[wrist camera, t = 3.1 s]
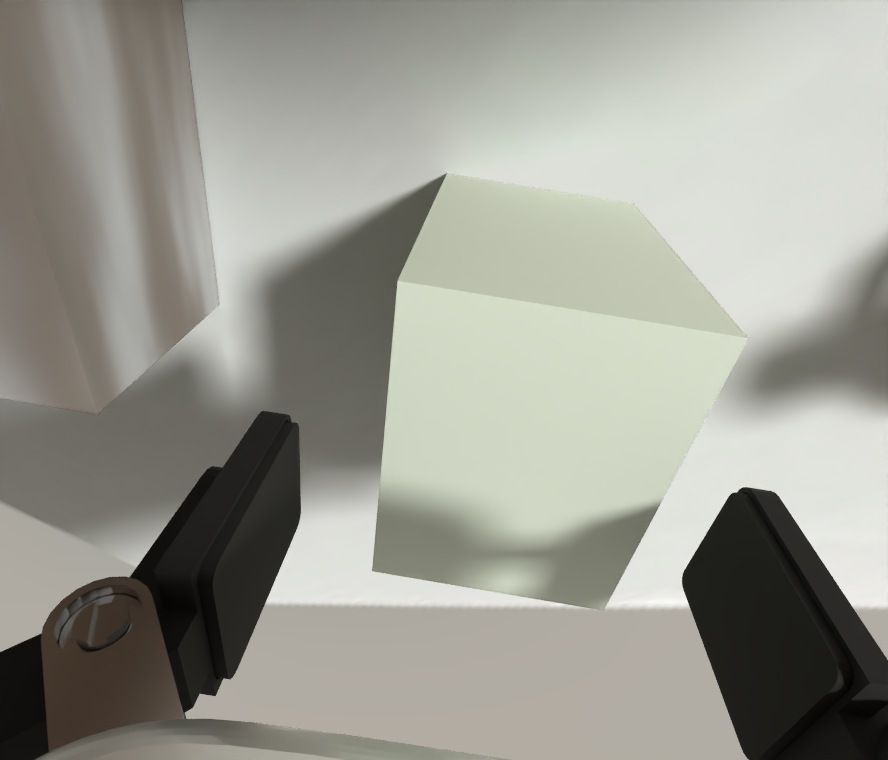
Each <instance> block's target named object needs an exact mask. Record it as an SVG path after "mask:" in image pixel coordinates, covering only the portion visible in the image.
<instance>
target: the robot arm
mask: <svg viewBox="0 0 888 760" xmlns="http://www.w3.org/2000/svg"><path fill="white" fill-rule="evenodd" d="M300 514H301V499H300V455H299V426H298V424H297V423H293V422H291V418H290V416H289V415H286V414H279V413H273V412H267V411H262V412H260V414H259V415H258V416H257V418H256V419H255V421H254V422H253V424H252V425H251V427H250V428H249V430H248V431H247V432H246V434H245V435H244V437H243V438H242V440H241V441H240V443H239V444H238V446H237V447H236V449H235V450H234V452H233V453H232V455H231V456H230V458H229V459H228V461H227V462H226V464H225V465H224V467H223V468H220V467H214V466H212V467H210V468H209V469H207V470H206V472H205V473H204V474H203V475H202V476H201V478H200V479H199V481H198V482H197V484H196V485H195V486H194V488H193V489H192V491H191V492H190V493H189V495H188V496H187V498H186V499H185V500H184V502H183V503H182V505H181V506H180V507H179V509H178V510H177V512H176V513H175V514H174V516H173V517H172V519H171V520H170V521H169V523H168V524H167V526H166V527H165V528H164V530H163V531H162V533H161V534H160V535H159V537H158V538H157V540H156V541H155V543H154V544H153V545H152V547H151V548H150V550H149V551H148V552H147V554H146V555H145V557H144V558H143V559H142V561H141V562H140V564H139V565H138V566H137V568H136V569H135V571H134V572H133V573H132V575H131V576H130V578H129V577H109V578H105V579H101V580H97V581H93V582H91V583H89V584H87V585H85V586H83V587H81V588H79V589H77V590H75V591H74V592H73V593H71V594H70V595H69V596H67V597H66V598H64V599H63V600H62V601H61V602H60V603H59V604H58V605H57V606H56V607H55V609H54V610H53V611H52V612H51V613H50V615H49V617H48V619H47V621H46V622H45V624H44V626H43V630H42V634H39V635H37V636H35V637H33V638H31V639H28V640H26V641H24V642H22V643H20V644H17V645H15V646H13V647H11V648H9V649H6V650H4V651H2V652H0V760H508V759H502V758H495V757H488V756H482V755H476V754H469V753H463V752H456V751H450V750H443V749H436V748H430V747H424V746H417V745H410V744H404V743H397V742H390V741H384V740H377V739H370V738H364V737H358V736H351V735H345V734H337V733H329V732H322V731H314V730H307V729H300V728H292V727H284V726H276V725H269V724H262V723H254V722H241V721H229V720H216V719H186V716H185V712H186V711H188V710H190V709H191V708H193V706H194V704H195V702H196V700H197V698H198V696H199V694H205V695H212V696H216V694H217V691H218V689H219V687H220V685H221V682H222V680H223V678H225V679H231V678H232V677H233V676H234V674H235V673H236V670H237V668H238V666H239V664H240V661H241V659H242V657H243V654H244V652H245V649H246V647H247V645H248V642H249V640H250V637H251V635H252V633H253V631H254V628H255V626H256V624H257V621H258V619H259V617H260V614H261V611H262V609H263V607H264V605H265V602H266V600H267V598H268V595H269V593H270V591H271V588H272V586H273V584H274V581H275V579H276V576H277V574H278V572H279V569H280V567H281V565H282V562H283V560H284V558H285V555H286V553H287V551H288V548H289V546H290V544H291V541H292V539H293V536H294V534H295V532H296V529H297V527H298V524H299V520H300ZM682 584H683V589H684V592H685V595H686V598H687V600H688V603H689V606H690V609H691V611H692V614H693V617H694V619H695V622H696V625H697V628H698V630H699V633H700V636H701V639H702V641H703V644H704V647H705V650H706V652H707V655H708V658H709V660H710V663H711V666H712V669H713V671H714V674H715V677H716V680H717V682H718V685H719V688H720V691H721V693H722V696H723V699H724V702H725V704H726V707H727V710H728V713H729V715H730V718H731V720H732V723H733V726H734V729H735V731H736V734H737V737H738V740H739V742H740V745H741V748H742V750H743V752H744V754H745V755H746V757H747V758H748V759H749V760H888V660H887V658H886V657H885V656H884V654H883V652H882V651H881V649H880V648H879V647H878V645H877V643H876V642H875V640H874V639H873V638H872V636H871V634H870V633H869V632H868V630H867V628H866V627H865V625H864V624H863V622H862V621H861V620H860V618H859V617H858V615H857V613H856V612H855V610H854V609H853V607H852V606H851V604H850V603H849V601H848V600H847V598H846V597H845V595H844V594H843V592H842V591H841V589H840V588H839V586H838V585H837V583H836V582H835V580H834V579H833V577H832V576H831V574H830V573H829V571H828V570H827V568H826V567H825V565H824V564H823V562H822V561H821V559H820V558H819V556H818V555H817V553H816V552H815V550H814V549H813V547H812V546H811V544H810V543H809V541H808V540H807V538H806V537H805V535H804V534H803V532H802V531H801V529H800V528H799V526H798V525H797V523H796V522H795V520H794V519H793V517H792V516H791V514H790V513H789V511H788V510H787V508H786V507H785V505H784V504H783V502H782V501H781V499H780V498H779V496H778V495H777V494H776V493H774V492H772V491H766V490H760V489H754V488H747V487H744V488H741V489H740V490H739V491H738V492H737V493H732V494H731V495H730V496H729V497H728V499H727V501H726V502H725V504H724V506H723V507H722V509H721V511H720V512H719V514H718V516H717V517H716V519H715V521H714V522H713V524H712V526H711V527H710V529H709V531H708V532H707V534H706V536H705V537H704V539H703V541H702V542H701V544H700V546H699V547H698V549H697V551H696V552H695V554H694V555H693V557H692V559H691V560H690V562H689V564H688V565H687V567H686V569H685V570H684V573H683V577H682Z"/></svg>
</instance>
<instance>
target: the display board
mask: <svg viewBox="0 0 888 760" xmlns="http://www.w3.org/2000/svg"><path fill="white" fill-rule="evenodd" d="M218 306H219V297H218V289H217V281H216V273H215V265H214V257H213V249H212V241H211V233H210V225H209V217H208V209H207V201H206V193H205V185H204V177H203V169H202V161H201V153H200V145H199V137H198V129H197V121H196V113H195V105H194V97H193V89H192V81H191V73H190V65H189V57H188V49H187V41H186V33H185V25H184V17H183V9H182V1H181V0H0V398H2V399H8V400H14V401H20V402H26V403H32V404H38V405H44V406H50V407H56V408H62V409H68V410H74V411H80V412H86V413H92V414H99V413H100V412H101V411H102V410H103V409H104V408H105V407H106V406H108V405H109V404H110V403H111V402H112V401H113V400H114V399H115V398H116V397H118V396H119V395H120V394H121V393H122V392H123V391H124V390H125V389H126V388H128V387H129V386H130V385H131V384H132V383H133V382H134V381H135V380H136V379H138V378H139V377H140V376H141V375H142V374H143V373H144V372H145V371H146V370H148V369H149V368H150V367H151V366H152V365H153V364H154V363H155V362H156V361H158V360H159V359H160V358H161V357H162V356H163V355H164V354H165V353H166V352H168V351H169V350H170V349H171V348H172V347H173V346H174V345H175V344H176V343H178V342H179V341H180V340H181V339H182V338H183V337H184V336H185V335H186V334H188V333H189V332H190V331H191V330H192V329H193V328H194V327H195V326H196V325H198V324H199V323H200V322H201V321H202V320H203V319H204V318H205V317H206V316H208V315H209V314H210V313H211V312H212V311H213V310H214V309H215V308H216V307H218Z"/></svg>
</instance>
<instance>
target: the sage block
mask: <svg viewBox="0 0 888 760" xmlns="http://www.w3.org/2000/svg"><path fill="white" fill-rule="evenodd" d="M748 339H749V338H748V337H747V336H746V335H745V334H744V332H743V331H742V330H741V329H740V328H739V326H738V325H737V324H736V323H735V322H734V321H733V319H732V318H731V317H730V316H729V315H728V314H727V312H726V311H725V310H724V309H723V308H722V306H721V305H720V304H719V303H718V302H717V301H716V299H715V298H714V297H713V296H712V295H711V293H710V292H709V291H708V290H707V289H706V288H705V286H704V285H703V284H702V283H701V282H700V281H699V279H698V278H697V277H696V276H695V275H694V273H693V272H692V271H691V270H690V269H689V268H688V266H687V265H686V264H685V263H684V262H683V261H682V259H681V258H680V257H679V256H678V255H677V253H676V252H675V251H674V250H673V249H672V248H671V246H670V245H669V244H668V243H667V242H666V240H665V239H664V238H663V237H662V236H661V235H660V233H659V232H658V231H657V230H656V229H655V228H654V226H653V225H652V224H651V223H650V222H649V220H648V219H647V218H646V217H645V216H644V215H643V213H642V212H641V211H640V210H639V209H638V208H637V206H636V205H635V204H633V203H627V202H621V201H615V200H608V199H602V198H596V197H590V196H584V195H578V194H571V193H565V192H559V191H553V190H547V189H541V188H534V187H528V186H522V185H516V184H510V183H504V182H497V181H491V180H485V179H479V178H473V177H467V176H460V175H454V174H448V173H447V174H446V176H445V179H444V181H443V183H442V185H441V187H440V189H439V192H438V194H437V196H436V198H435V200H434V202H433V205H432V207H431V209H430V211H429V213H428V216H427V218H426V220H425V222H424V224H423V226H422V229H421V231H420V233H419V235H418V237H417V239H416V242H415V244H414V246H413V248H412V250H411V253H410V255H409V257H408V259H407V261H406V263H405V266H404V268H403V270H402V272H401V274H400V276H399V279H398V282H397V293H396V305H395V316H394V328H393V339H392V350H391V362H390V373H389V385H388V396H387V408H386V419H385V431H384V442H383V454H382V465H381V476H380V488H379V499H378V511H377V522H376V534H375V545H374V557H373V568H372V571H375V572H381V573H386V574H392V575H398V576H404V577H410V578H416V579H422V580H428V581H433V582H439V583H445V584H451V585H457V586H463V587H469V588H475V589H480V590H486V591H492V592H498V593H504V594H510V595H516V596H522V597H528V598H533V599H539V600H545V601H551V602H557V603H563V604H569V605H575V606H580V607H586V608H592V609H598V610H604V609H605V607H606V605H607V603H608V601H609V599H610V597H611V596H612V594H613V592H614V590H615V588H616V586H617V584H618V582H619V581H620V579H621V577H622V575H623V573H624V571H625V569H626V567H627V566H628V564H629V562H630V560H631V558H632V556H633V554H634V552H635V551H636V549H637V547H638V545H639V543H640V541H641V539H642V537H643V536H644V534H645V532H646V530H647V528H648V526H649V524H650V522H651V521H652V519H653V517H654V515H655V513H656V511H657V509H658V507H659V506H660V504H661V502H662V500H663V498H664V496H665V494H666V492H667V491H668V489H669V487H670V485H671V483H672V481H673V479H674V477H675V475H676V474H677V472H678V470H679V468H680V466H681V464H682V462H683V460H684V459H685V457H686V455H687V453H688V451H689V449H690V447H691V445H692V444H693V442H694V440H695V438H696V436H697V434H698V432H699V430H700V429H701V427H702V425H703V423H704V421H705V419H706V417H707V415H708V414H709V412H710V410H711V408H712V406H713V404H714V402H715V400H716V399H717V397H718V395H719V393H720V391H721V389H722V387H723V385H724V384H725V382H726V380H727V378H728V376H729V374H730V372H731V370H732V369H733V367H734V365H735V363H736V361H737V359H738V357H739V355H740V354H741V352H742V350H743V348H744V346H745V344H746V342H747V340H748Z"/></svg>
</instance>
